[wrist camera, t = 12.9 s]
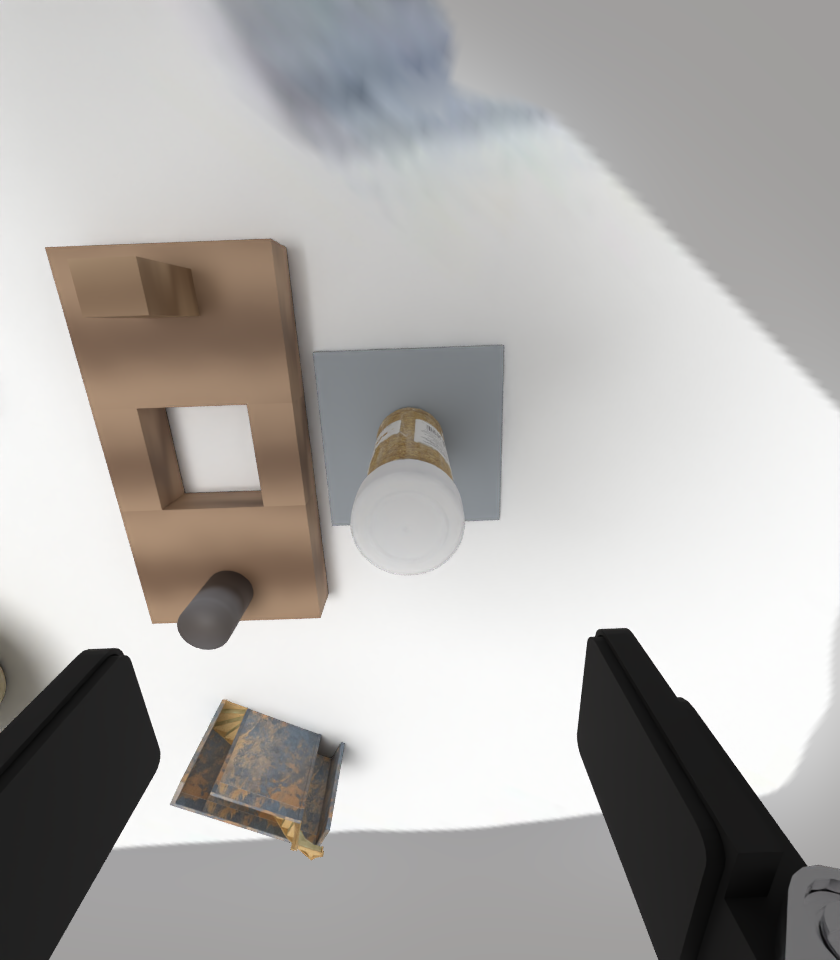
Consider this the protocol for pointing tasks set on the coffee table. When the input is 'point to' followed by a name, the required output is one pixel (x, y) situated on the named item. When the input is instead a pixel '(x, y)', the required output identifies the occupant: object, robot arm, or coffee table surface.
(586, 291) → the coffee table surface
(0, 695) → the planter bowl
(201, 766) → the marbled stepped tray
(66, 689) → the robot arm
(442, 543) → the sprinkles bottle
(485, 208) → the coffee table surface
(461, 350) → the pad
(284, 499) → the wooden peg board
